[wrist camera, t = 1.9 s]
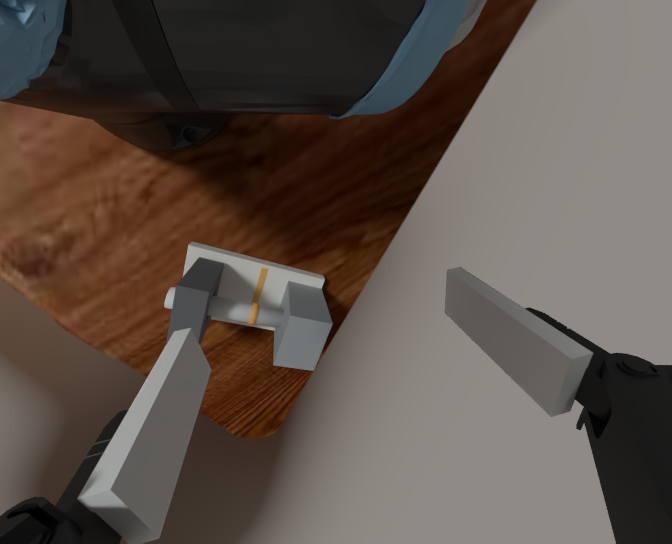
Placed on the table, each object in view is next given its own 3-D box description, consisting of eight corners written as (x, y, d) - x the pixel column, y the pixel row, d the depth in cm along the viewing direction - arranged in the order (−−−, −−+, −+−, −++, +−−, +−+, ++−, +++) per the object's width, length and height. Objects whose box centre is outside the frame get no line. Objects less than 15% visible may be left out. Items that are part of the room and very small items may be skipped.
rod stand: (180, 307, 37) (145, 359, 27) (192, 241, 34) (157, 274, 24) (303, 330, 42) (309, 379, 33) (323, 275, 39) (337, 313, 30)
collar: (188, 310, 35) (164, 350, 28) (199, 257, 33) (176, 285, 25) (212, 315, 36) (195, 354, 29) (224, 263, 33) (209, 292, 26)
